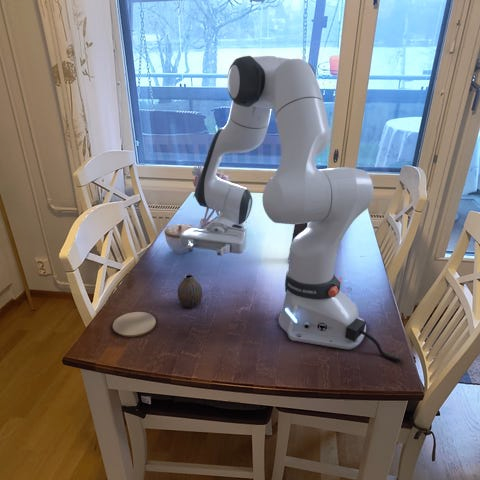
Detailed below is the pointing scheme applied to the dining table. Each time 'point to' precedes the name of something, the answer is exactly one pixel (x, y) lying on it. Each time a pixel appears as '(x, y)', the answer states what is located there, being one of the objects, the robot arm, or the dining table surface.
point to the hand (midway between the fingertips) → (204, 251)
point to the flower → (197, 173)
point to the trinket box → (176, 237)
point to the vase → (189, 292)
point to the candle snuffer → (298, 230)
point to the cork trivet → (134, 324)
